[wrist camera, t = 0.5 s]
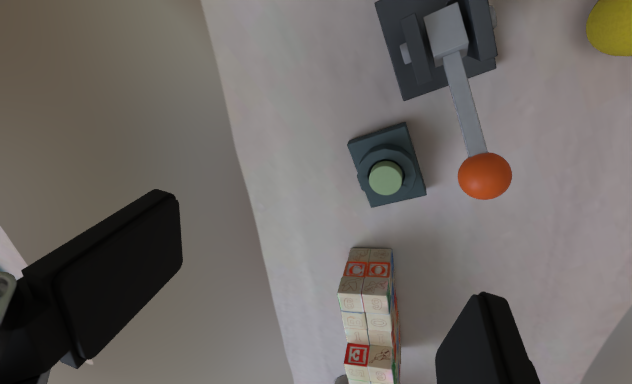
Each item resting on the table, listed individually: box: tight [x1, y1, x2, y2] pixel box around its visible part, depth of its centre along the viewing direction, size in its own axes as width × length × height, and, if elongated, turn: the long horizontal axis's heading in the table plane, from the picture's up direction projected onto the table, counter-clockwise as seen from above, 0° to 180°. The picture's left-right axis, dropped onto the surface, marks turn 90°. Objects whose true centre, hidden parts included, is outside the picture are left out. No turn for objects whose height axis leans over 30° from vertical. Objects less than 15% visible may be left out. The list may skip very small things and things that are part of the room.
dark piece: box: [347, 122, 426, 208], centre depth 36 cm, size 9×7×4 cm
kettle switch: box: [423, 2, 512, 200], centre depth 21 cm, size 13×3×3 cm, turn 23°
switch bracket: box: [375, 0, 498, 101], centre depth 25 cm, size 10×9×13 cm
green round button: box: [369, 161, 402, 195], centre depth 35 cm, size 4×4×2 cm
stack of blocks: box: [337, 248, 401, 384], centre depth 43 cm, size 21×6×12 cm, turn 11°
